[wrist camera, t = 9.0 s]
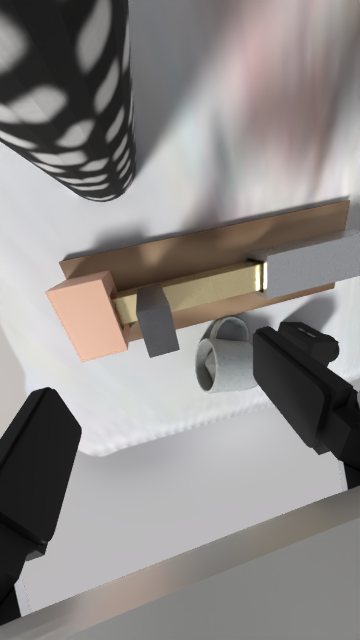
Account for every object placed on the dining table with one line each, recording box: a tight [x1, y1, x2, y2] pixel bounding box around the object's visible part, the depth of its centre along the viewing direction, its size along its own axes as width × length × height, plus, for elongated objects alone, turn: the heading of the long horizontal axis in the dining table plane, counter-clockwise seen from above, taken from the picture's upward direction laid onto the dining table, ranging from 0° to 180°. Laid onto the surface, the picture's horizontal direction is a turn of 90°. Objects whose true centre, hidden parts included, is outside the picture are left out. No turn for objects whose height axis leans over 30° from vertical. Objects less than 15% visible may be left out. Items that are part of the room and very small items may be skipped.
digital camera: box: [278, 322, 339, 367], centre depth 31 cm, size 10×5×7 cm, turn 175°
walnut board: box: [59, 200, 350, 342], centre depth 26 cm, size 12×37×1 cm, turn 101°
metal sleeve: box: [244, 230, 360, 300], centre depth 24 cm, size 5×15×5 cm, turn 101°
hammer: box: [109, 260, 264, 358], centre depth 19 cm, size 4×22×10 cm, turn 101°
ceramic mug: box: [195, 316, 258, 393], centre depth 27 cm, size 11×8×8 cm
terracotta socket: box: [45, 270, 130, 362], centre depth 21 cm, size 8×5×6 cm, turn 11°
